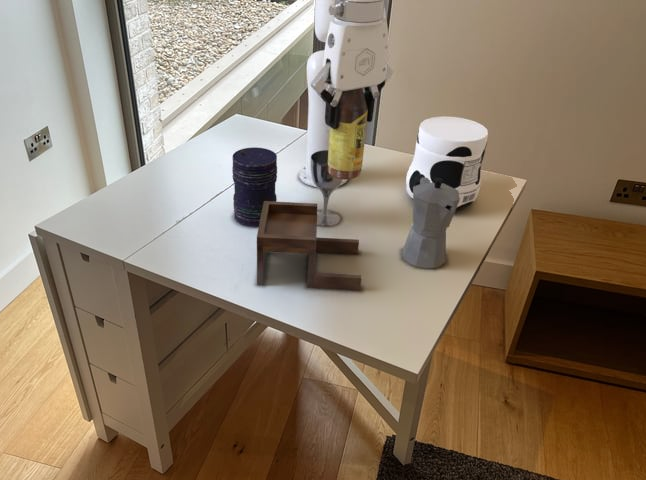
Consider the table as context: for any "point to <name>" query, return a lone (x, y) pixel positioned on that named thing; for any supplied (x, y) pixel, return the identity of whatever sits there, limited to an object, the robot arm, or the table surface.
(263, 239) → the step rack
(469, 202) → the milk container
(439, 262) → the coffeepot
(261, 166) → the dark blue cylinder
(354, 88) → the robot arm
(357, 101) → the sauce bottle
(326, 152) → the wine glass
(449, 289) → the table surface
